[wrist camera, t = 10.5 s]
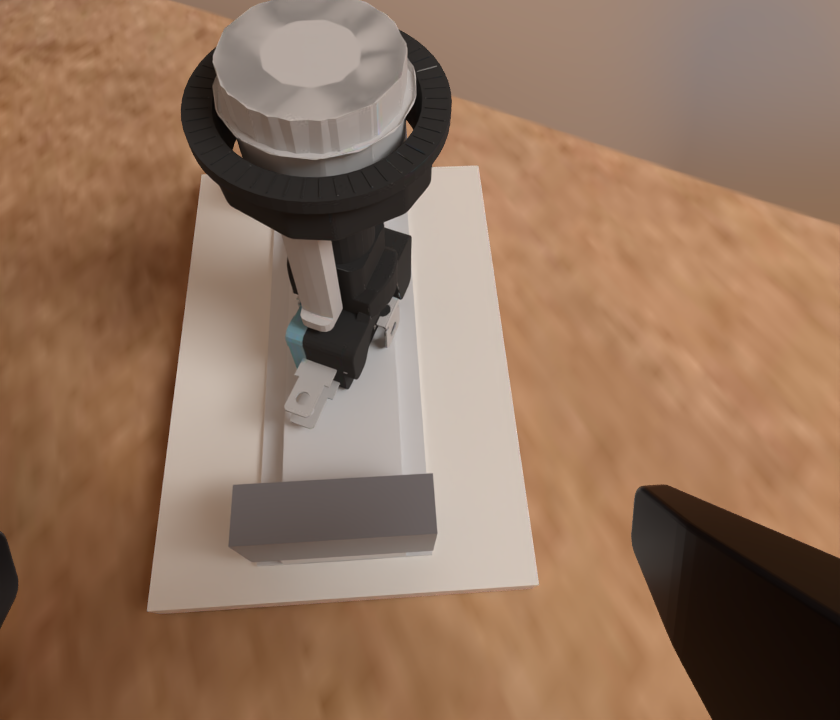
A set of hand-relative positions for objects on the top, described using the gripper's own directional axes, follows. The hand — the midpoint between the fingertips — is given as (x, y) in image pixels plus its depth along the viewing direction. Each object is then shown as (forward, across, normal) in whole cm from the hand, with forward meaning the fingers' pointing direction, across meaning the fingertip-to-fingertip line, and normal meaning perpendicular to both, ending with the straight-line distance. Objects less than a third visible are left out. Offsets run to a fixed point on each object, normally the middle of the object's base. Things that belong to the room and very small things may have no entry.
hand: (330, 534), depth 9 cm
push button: (+12, 0, +1) cm, 12 cm away
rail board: (+13, +1, +2) cm, 13 cm away
